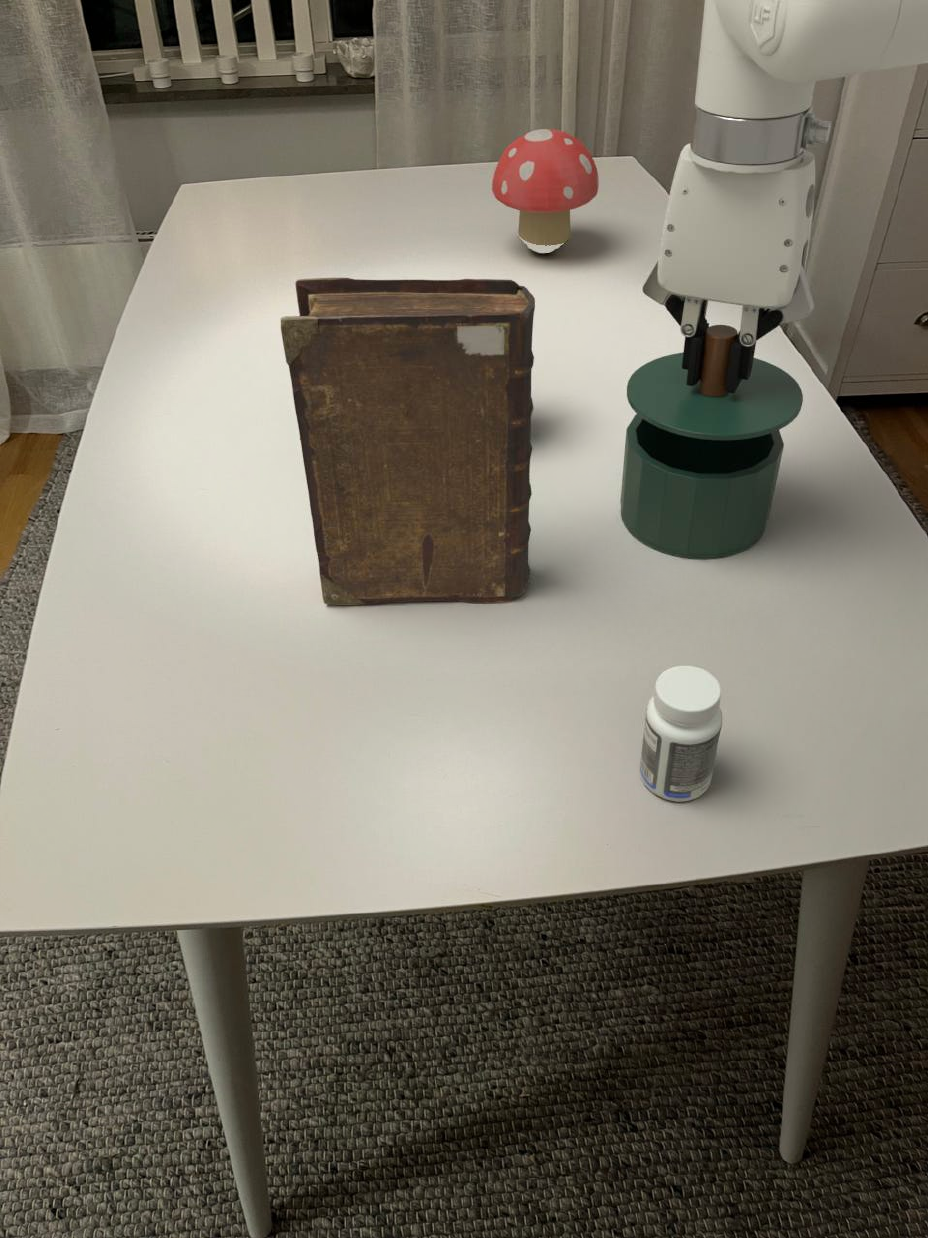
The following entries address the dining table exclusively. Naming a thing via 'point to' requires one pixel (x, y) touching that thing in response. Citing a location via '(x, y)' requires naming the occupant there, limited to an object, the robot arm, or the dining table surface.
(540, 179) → the decorative mushroom
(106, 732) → the dining table surface
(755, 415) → the tin lid
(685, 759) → the pill bottle
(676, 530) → the tin
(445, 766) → the dining table surface
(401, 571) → the book
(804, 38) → the robot arm
